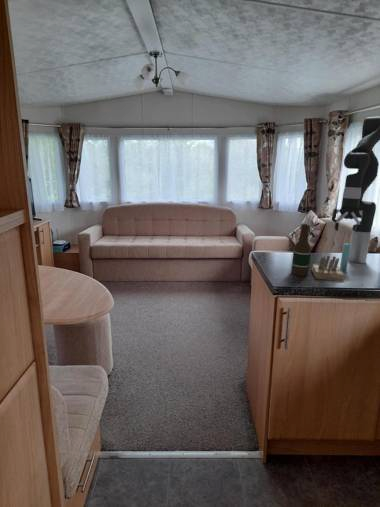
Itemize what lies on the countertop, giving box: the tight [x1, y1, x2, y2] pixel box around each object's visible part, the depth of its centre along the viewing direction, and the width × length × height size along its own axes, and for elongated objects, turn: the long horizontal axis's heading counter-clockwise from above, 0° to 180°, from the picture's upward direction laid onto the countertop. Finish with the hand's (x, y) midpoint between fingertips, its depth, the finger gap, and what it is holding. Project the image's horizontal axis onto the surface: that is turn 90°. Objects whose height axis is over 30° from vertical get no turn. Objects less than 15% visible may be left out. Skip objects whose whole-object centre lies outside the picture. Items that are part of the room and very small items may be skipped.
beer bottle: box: [291, 223, 312, 277], centre depth 160 cm, size 8×8×24 cm
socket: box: [311, 255, 345, 282], centre depth 161 cm, size 14×12×9 cm
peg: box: [339, 243, 351, 274], centre depth 167 cm, size 3×3×14 cm
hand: (346, 231), depth 162 cm, fingers open, 8 cm apart
